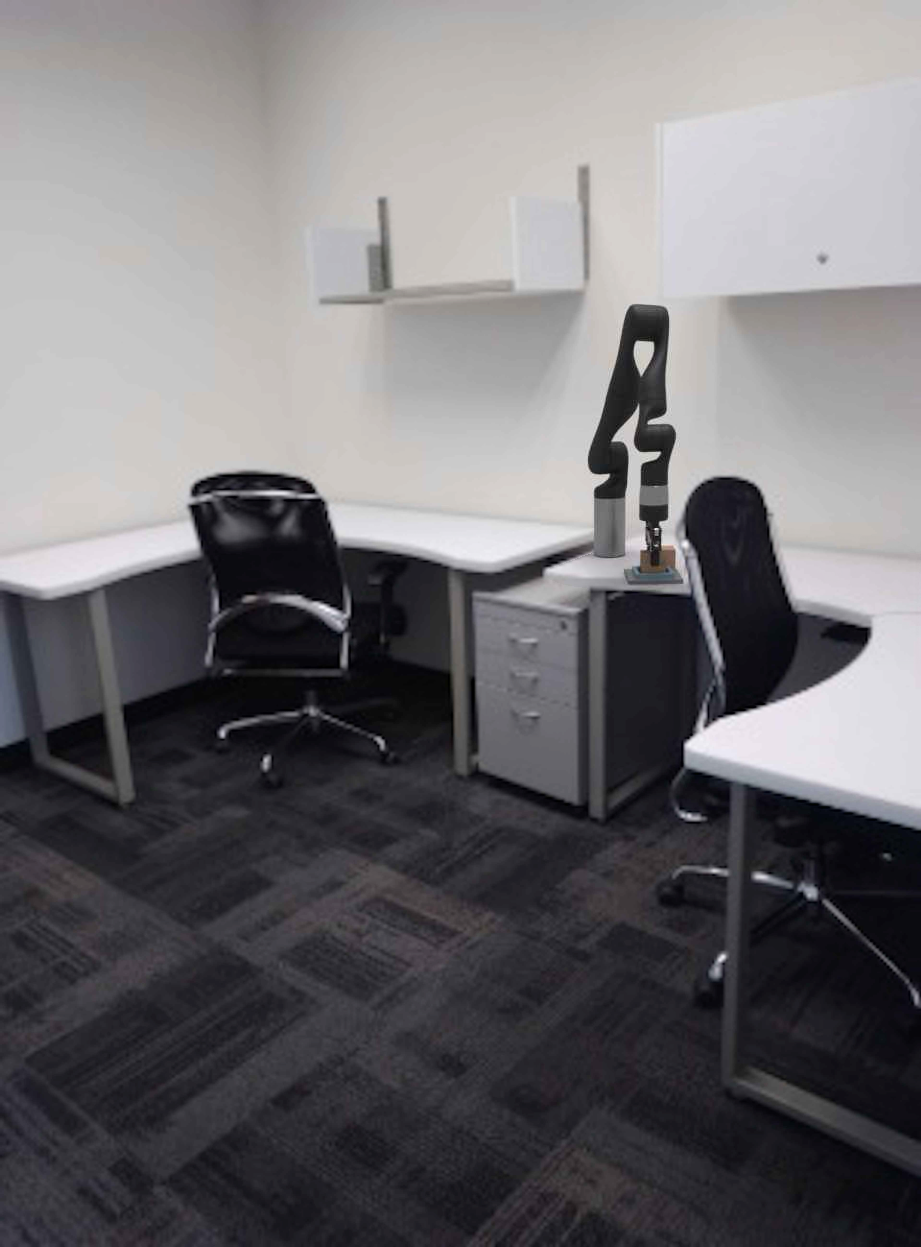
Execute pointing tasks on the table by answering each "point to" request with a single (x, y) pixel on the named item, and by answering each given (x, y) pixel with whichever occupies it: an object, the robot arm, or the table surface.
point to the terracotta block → (670, 555)
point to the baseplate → (652, 576)
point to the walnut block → (646, 562)
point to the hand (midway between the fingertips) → (652, 562)
